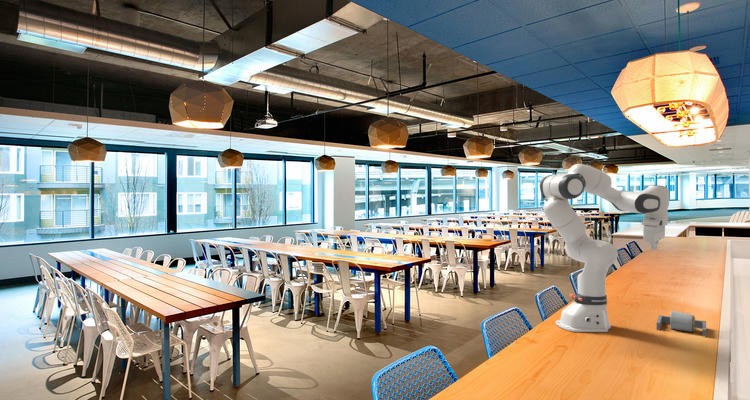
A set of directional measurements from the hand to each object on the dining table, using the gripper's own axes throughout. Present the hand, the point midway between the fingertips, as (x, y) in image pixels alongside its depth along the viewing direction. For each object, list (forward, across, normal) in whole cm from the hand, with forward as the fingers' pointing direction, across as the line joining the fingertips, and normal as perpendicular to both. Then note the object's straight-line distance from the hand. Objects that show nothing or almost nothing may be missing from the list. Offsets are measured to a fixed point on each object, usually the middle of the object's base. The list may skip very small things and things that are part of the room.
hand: (653, 249), depth 182 cm
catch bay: (+31, +8, +14) cm, 35 cm away
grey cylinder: (+32, +8, +14) cm, 36 cm away
